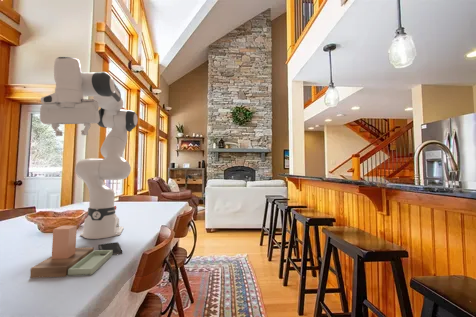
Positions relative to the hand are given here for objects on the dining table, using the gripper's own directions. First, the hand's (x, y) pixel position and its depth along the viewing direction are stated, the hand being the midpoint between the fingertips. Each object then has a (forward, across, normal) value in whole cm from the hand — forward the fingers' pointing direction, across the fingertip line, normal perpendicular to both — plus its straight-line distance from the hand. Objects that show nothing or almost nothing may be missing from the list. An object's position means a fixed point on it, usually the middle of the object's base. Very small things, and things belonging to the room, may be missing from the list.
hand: (72, 135), depth 93 cm
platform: (+46, -1, +10) cm, 47 cm away
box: (+47, -10, +10) cm, 49 cm away
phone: (+48, -9, -5) cm, 50 cm away
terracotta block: (+43, -1, +10) cm, 44 cm away
